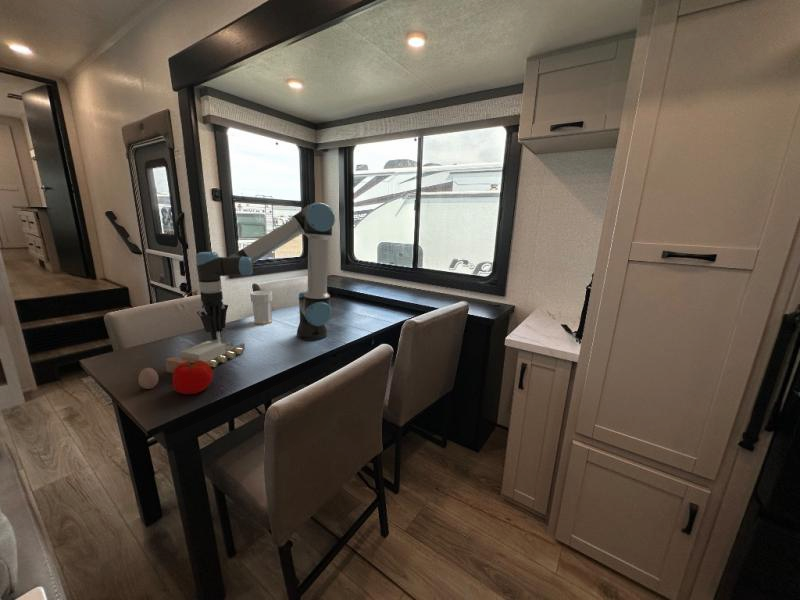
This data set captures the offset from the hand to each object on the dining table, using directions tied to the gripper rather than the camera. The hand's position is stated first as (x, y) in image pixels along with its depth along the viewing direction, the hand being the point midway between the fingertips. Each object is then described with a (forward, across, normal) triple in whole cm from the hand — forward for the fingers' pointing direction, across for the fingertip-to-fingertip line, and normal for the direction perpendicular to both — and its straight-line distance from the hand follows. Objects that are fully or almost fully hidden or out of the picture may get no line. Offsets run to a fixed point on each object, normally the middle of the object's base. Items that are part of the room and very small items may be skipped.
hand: (217, 346), depth 131 cm
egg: (+5, +28, -1) cm, 28 cm away
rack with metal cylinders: (+5, +4, 0) cm, 6 cm away
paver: (+2, +7, 0) cm, 7 cm away
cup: (+6, -46, -16) cm, 49 cm away
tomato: (+5, +24, +14) cm, 28 cm away
